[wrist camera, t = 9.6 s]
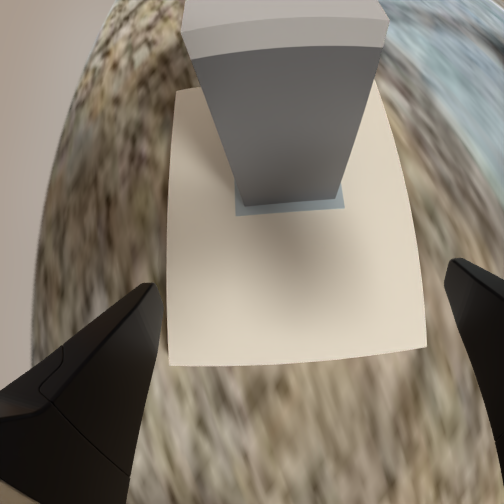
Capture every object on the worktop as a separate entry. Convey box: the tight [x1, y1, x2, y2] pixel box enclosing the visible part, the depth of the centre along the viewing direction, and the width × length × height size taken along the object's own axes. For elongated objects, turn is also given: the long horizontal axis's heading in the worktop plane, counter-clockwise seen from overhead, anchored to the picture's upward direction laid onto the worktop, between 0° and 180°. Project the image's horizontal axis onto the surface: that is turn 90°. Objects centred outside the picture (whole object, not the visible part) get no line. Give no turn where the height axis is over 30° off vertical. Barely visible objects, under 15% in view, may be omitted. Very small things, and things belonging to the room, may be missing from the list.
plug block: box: [181, 0, 390, 207], centre depth 12 cm, size 5×5×12 cm
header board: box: [166, 80, 427, 366], centre depth 16 cm, size 18×14×5 cm
